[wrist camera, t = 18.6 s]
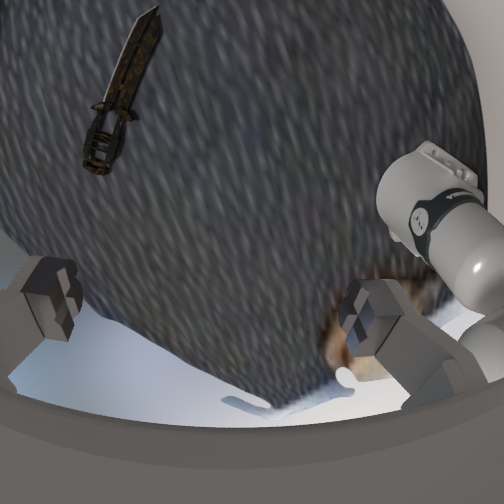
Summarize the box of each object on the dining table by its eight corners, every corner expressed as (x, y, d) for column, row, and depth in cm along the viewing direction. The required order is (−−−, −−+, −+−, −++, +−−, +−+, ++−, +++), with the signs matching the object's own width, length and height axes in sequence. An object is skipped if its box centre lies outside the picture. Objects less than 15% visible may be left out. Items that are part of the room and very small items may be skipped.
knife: (148, 2, 27) (145, 0, 26) (190, 19, 29) (189, 18, 28) (74, 160, 38) (70, 164, 37) (110, 177, 41) (106, 180, 39)
